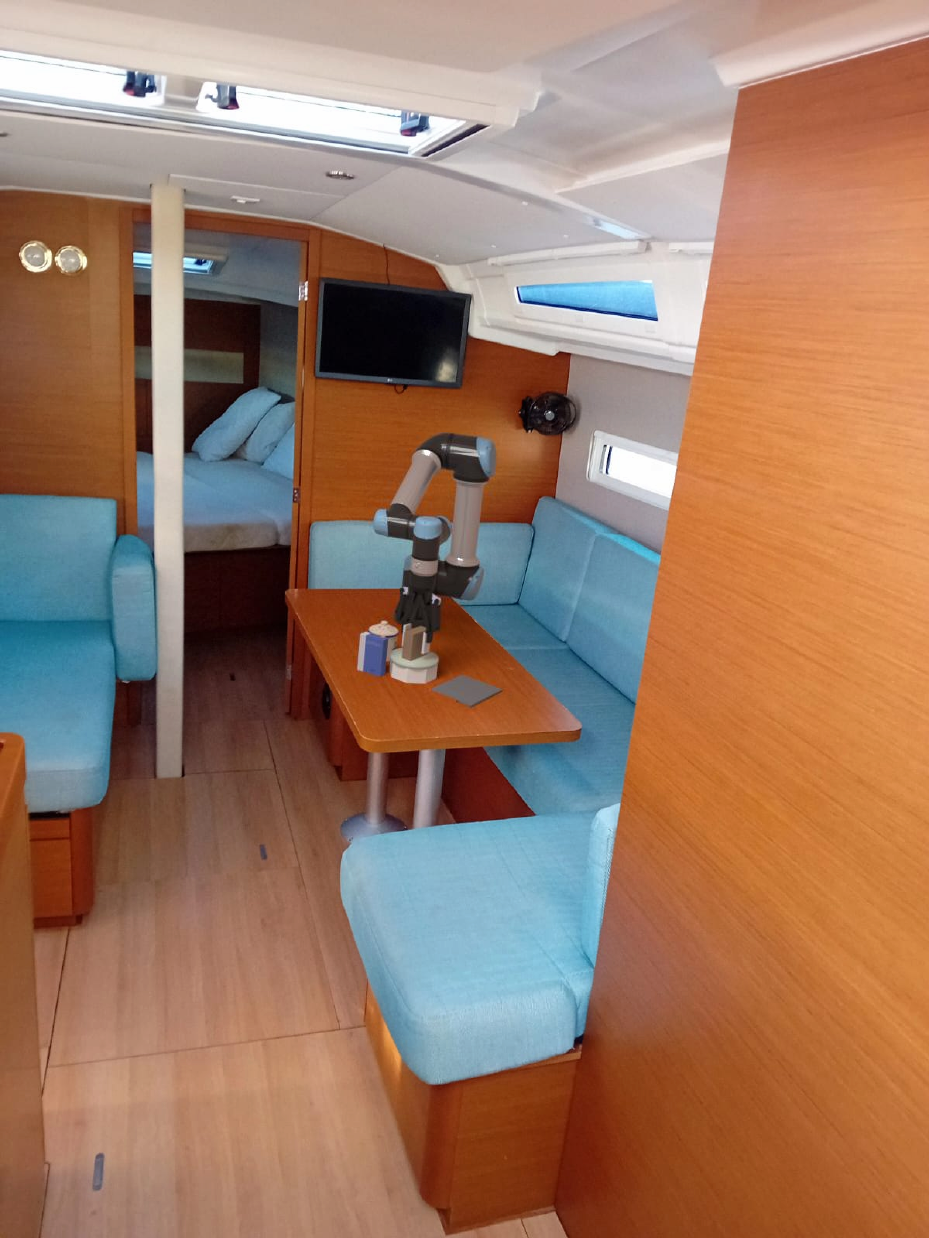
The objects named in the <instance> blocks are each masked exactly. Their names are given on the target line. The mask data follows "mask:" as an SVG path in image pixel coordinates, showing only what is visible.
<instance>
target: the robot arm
mask: <svg viewBox="0 0 929 1238" xmlns="http://www.w3.org/2000/svg"><path fill="white" fill-rule="evenodd" d="M496 448H497V447H496V444H495V443H494V441H493V440H492V439H490V438H485V437H481V436H477V435H468V434H459V433H453V432H440V433H437V434H435V435H433V436H431V437H428V438H427V439H426V440H424V441H423V442H422V443H421V444H420V445H418V447H417V448H415V451H414V453H413V454H412V457H411V464H410V467H409V469H408V471H407V473H406V474H405V476H404V478H403V480H402V482H401V484H400V486H399V488H398V490H397V491H396V493H395V495H394V497H393V500H392V501H391V503H390V504H389V507H388V508H387V509H386V508H384V509H383V508H380V509H378V510H377V511H376V512H375V515H374V516H373V523H372V526H373V531H374V533H375V534H377V535H379V536H384V537H386V538H394V539H399V540H406V541H407V540H408V541H412V548H411V549H412V551H411V554H408V556H406V557H405V560H404V563H403V568H402V570H403V572H402V583H401V587H400V588H399V600H398V602H397V605H396V607H395V610H394V612H393V620H394V621H395V622H396V623H398V624H400V625H401V628H400V629H401V630H400V633H401V634H402V639H401V647H403V640H404V632H405V631H408V630H411V629H412V628H416V627H419V626H423V627H426V631H425V632H424V634H423V643H422V652H421V653H422V654H425V653H428V652H429V651H430V646H431V643H433V639H434V633H437V632H439V631H440V630H441V617H442V616H441V615H442V614H441V613H442V612H441V609H442V607H441V606H442V603H443V601H444V599H443V598H442V597H445V598H450V599H456V600H459V601H471V602H472V601H474V600H475V599H476V597H477V596H478V594H479V593H480V589H481V586H482V583H483V579H484V574H485V569H484V568H483V567H482V566H480V564H481V563H480V559H479V558H478V557H477V548H478V539H479V532H480V531H479V530H480V521H481V513H482V503H483V495H484V487H485V485H487V484H488V483H489V482H490V478H493V477H494V476H495V474H496V468H497V461H498V460H497V459H498V457H497V456H498V455H497V449H496ZM441 470H446V471H451V472H452V479H453V480H454V482H456V491H455V499H454V509H453V510H454V511H453V519H452V523H451V521H450V520H449V518H447V517H445V516H442V515H437V516H430V515H429V516H426V515H424V516H423V515H420V514H418V515H417V514H415V513H416V511H417V509H418V507H419V505H420V503H421V501H422V500H423V497H424V495H425V494H426V492H427V490H428V488H429V486H430V484H431V481H432V479H433V477H434V476H436V475H437V474H438V473H439V472H440V471H441ZM450 537H451V540H450V550H449V551H450V552H449V554H447V555H446V556H445V557H444V560H441V557H440V555H439V554H440V549H441V548H440V547H441V545H442V544H444V543H446V542H447V541H448V540H449V538H450ZM438 596H441V597H438Z"/></svg>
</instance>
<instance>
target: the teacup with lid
mask: <svg viewBox="0 0 929 1238" xmlns="http://www.w3.org/2000/svg"><path fill="white" fill-rule="evenodd" d="M367 632H369V633H372V634H376V635H379V636H381V635H383V636H385V637H386V638H388V648H387V658H386V662H390V653H391V652H392V651H393V650H395V649H397V644H398V635H399V634H400V633H399V629H398V628H397V627H396V626H393V625H391V624H389V623H388V621H387V620H381V621H380V623H377V624H373V625H370V626H369V628H368V630H367Z"/></svg>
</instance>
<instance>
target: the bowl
mask: <svg viewBox="0 0 929 1238" xmlns="http://www.w3.org/2000/svg"><path fill="white" fill-rule="evenodd" d="M438 665H439V664H438ZM438 665H437V666H435V667H433V668H430V669H409V668H404V667H401V666H398V665H396V664H394V663H393V662H392V661H391V660H390V661H389V668H388V670H389V672H390V677H391V678H393V679H396V680H397V681H400V682H403V683H405V684H423V685H424V684H427V683H429V682H431V681H432V682H433V681H434V680H436V679H437V674H438V673H437V672H438Z"/></svg>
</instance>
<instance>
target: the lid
mask: <svg viewBox="0 0 929 1238" xmlns="http://www.w3.org/2000/svg"><path fill="white" fill-rule="evenodd" d="M425 631H426V627H423V626H419V627H412V628H411V630H408V631H405V632H404V640H403V646H402V647H398V648H396V649H395V650H393V651H392V652H391V653H390V660H391V661H392V662H393V663H394V664H396V665H398V666H401V667H404V668H409V669H430V668H433V667H435V666H437V665H439V661H440V660H439V659H440V657H439V656H438V654H436V653H435V652H433V651H430V650H429V652H428V653H425V654H422V653H421V652H422V643H423V634H424V632H425Z"/></svg>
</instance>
